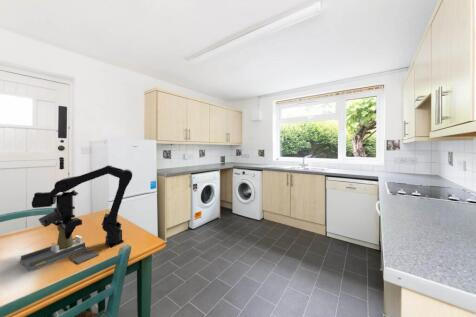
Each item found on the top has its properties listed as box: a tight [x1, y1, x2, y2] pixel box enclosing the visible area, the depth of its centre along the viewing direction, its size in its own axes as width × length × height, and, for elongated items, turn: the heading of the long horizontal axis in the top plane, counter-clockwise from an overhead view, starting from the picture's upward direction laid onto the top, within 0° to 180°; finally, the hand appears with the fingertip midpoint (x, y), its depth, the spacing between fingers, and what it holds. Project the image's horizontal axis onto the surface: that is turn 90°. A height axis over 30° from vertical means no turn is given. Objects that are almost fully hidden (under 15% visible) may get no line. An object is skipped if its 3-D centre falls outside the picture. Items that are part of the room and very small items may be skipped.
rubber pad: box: [69, 249, 100, 265], centre depth 86 cm, size 8×8×1 cm
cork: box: [56, 223, 74, 249], centre depth 89 cm, size 6×6×11 cm
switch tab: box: [50, 234, 84, 253], centre depth 90 cm, size 10×7×3 cm
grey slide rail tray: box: [19, 237, 87, 272], centre depth 86 cm, size 19×12×3 cm, turn 153°
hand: (65, 237), depth 89 cm, fingers closed on cork, 4 cm apart
